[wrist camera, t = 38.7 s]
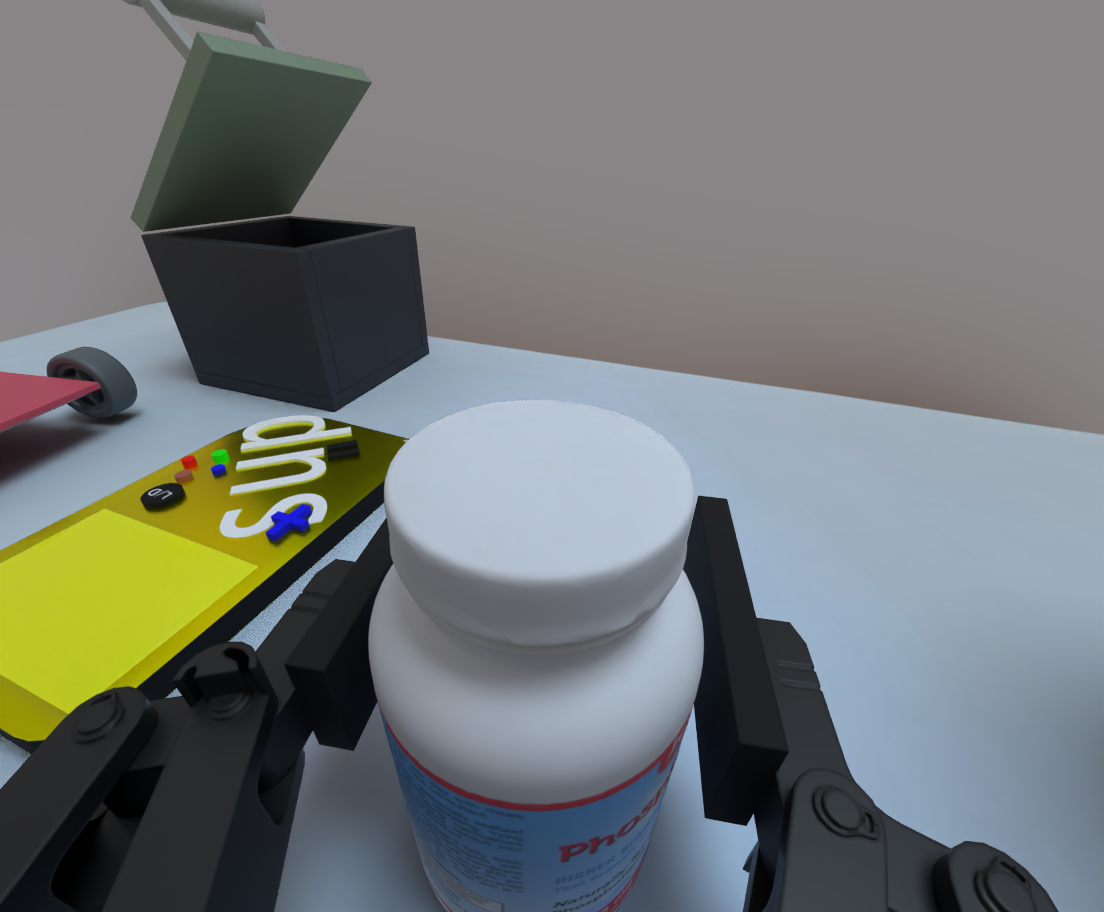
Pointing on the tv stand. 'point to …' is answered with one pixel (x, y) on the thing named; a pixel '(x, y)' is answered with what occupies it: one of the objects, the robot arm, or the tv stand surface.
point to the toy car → (68, 388)
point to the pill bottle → (535, 649)
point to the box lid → (240, 120)
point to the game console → (175, 563)
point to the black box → (294, 305)
